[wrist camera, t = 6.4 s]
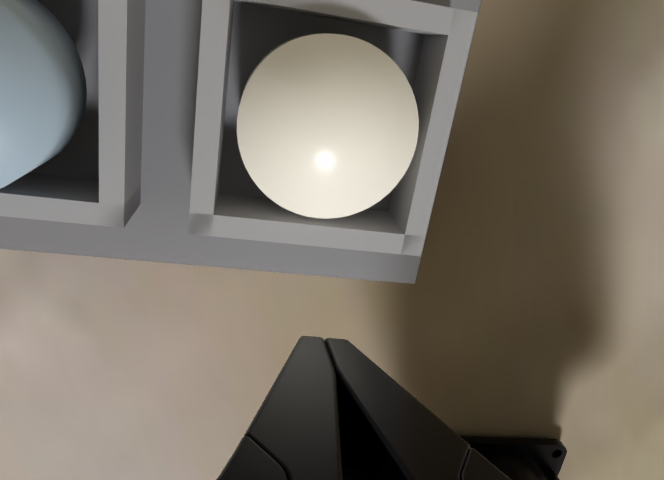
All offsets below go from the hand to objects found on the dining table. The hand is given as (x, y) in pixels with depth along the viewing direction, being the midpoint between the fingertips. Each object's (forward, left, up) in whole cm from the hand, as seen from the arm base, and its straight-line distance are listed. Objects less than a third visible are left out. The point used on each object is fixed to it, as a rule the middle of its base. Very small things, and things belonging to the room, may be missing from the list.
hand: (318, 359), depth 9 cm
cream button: (0, -3, -7) cm, 8 cm away
